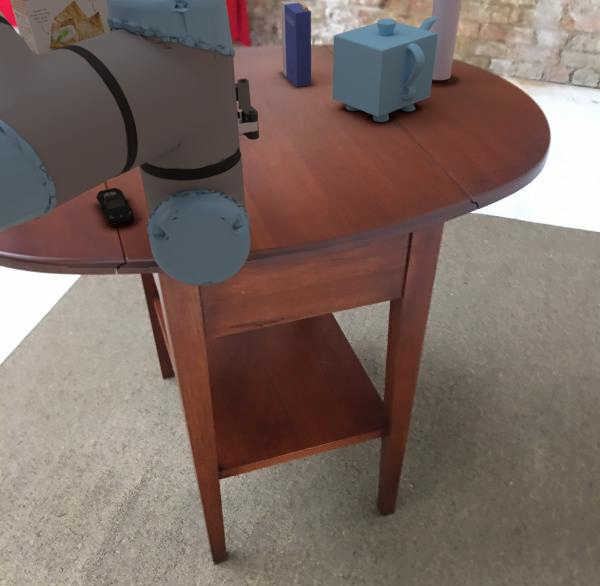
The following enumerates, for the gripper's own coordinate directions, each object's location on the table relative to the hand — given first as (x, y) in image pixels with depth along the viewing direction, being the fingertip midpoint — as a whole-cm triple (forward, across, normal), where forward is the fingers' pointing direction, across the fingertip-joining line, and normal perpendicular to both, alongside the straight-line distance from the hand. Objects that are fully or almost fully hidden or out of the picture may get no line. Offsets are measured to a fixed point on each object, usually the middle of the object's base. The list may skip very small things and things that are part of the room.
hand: (183, 72), depth 73 cm
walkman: (+43, +20, -16) cm, 50 cm away
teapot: (+28, +34, -16) cm, 47 cm away
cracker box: (+38, -18, -16) cm, 45 cm away
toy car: (-1, -11, -16) cm, 20 cm away
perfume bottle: (+37, +45, -16) cm, 60 cm away
